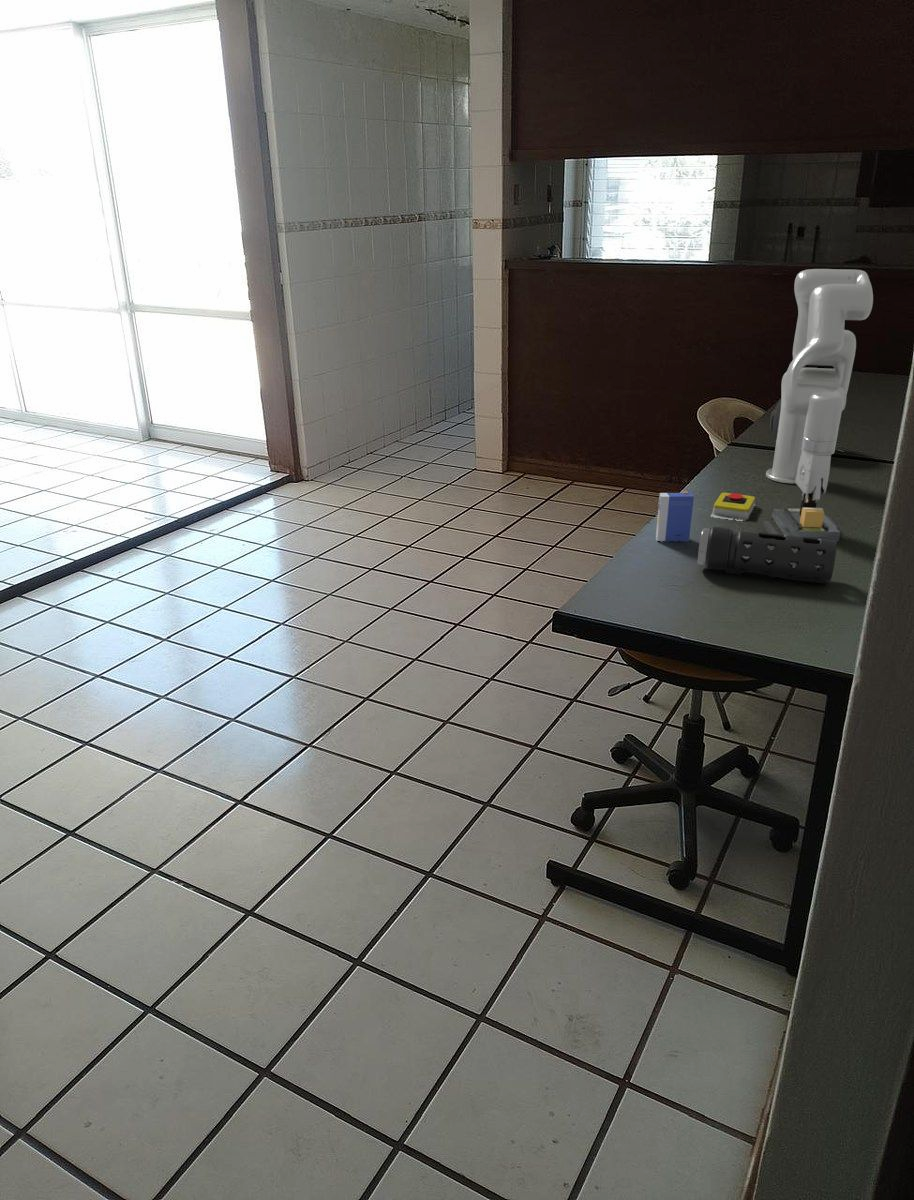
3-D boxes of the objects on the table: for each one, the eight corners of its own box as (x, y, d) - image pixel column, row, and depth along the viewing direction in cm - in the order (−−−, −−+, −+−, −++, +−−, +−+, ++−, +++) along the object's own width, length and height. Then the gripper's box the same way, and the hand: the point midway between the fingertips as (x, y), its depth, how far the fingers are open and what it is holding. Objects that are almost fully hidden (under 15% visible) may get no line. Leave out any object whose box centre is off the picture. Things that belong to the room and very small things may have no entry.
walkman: (686, 537, 222) (691, 491, 217) (688, 541, 220) (694, 495, 214) (654, 537, 222) (658, 491, 217) (656, 542, 220) (660, 495, 215)
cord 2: (822, 521, 231) (822, 516, 231) (827, 521, 231) (828, 516, 231) (832, 532, 224) (832, 527, 223) (837, 532, 224) (838, 527, 223)
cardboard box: (799, 522, 223) (802, 506, 221) (817, 522, 222) (820, 506, 221) (803, 527, 220) (806, 510, 218) (821, 527, 220) (824, 510, 218)
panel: (771, 517, 234) (773, 506, 232) (818, 518, 233) (820, 507, 232) (788, 541, 219) (790, 529, 218) (838, 541, 219) (840, 529, 217)
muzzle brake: (829, 593, 193) (837, 548, 188) (695, 577, 201) (700, 533, 197) (828, 576, 201) (836, 532, 197) (699, 560, 209) (704, 519, 205)
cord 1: (762, 526, 228) (763, 520, 228) (768, 526, 228) (769, 521, 228) (777, 547, 216) (778, 541, 215) (783, 547, 216) (784, 541, 215)
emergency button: (757, 490, 241) (748, 508, 229) (755, 506, 243) (746, 524, 231) (722, 486, 245) (711, 503, 233) (720, 501, 247) (709, 519, 235)
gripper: (794, 436, 223) (783, 505, 231) (811, 454, 210) (799, 527, 218) (825, 436, 223) (813, 506, 231) (844, 454, 209) (831, 527, 217)
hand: (806, 516), depth 224 cm, fingers closed
